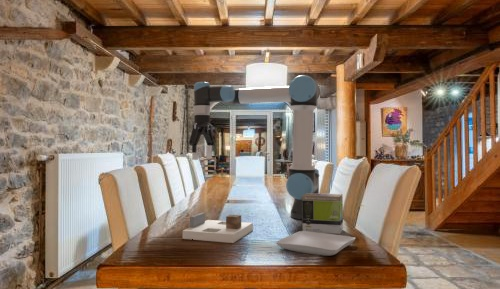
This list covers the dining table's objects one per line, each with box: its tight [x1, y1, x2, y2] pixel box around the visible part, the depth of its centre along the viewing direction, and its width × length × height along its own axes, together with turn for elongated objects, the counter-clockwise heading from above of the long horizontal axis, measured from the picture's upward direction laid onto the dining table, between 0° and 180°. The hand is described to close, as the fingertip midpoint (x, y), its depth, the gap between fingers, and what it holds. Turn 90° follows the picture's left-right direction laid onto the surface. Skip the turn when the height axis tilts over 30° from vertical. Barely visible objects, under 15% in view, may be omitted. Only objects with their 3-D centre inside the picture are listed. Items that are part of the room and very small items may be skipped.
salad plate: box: [275, 230, 356, 257], centre depth 138 cm, size 21×21×3 cm
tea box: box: [301, 192, 344, 235], centre depth 164 cm, size 15×10×15 cm
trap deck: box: [182, 212, 254, 244], centre depth 158 cm, size 20×22×7 cm
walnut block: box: [225, 214, 242, 229], centre depth 156 cm, size 4×4×4 cm
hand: (202, 159), depth 196 cm, fingers open, 13 cm apart
